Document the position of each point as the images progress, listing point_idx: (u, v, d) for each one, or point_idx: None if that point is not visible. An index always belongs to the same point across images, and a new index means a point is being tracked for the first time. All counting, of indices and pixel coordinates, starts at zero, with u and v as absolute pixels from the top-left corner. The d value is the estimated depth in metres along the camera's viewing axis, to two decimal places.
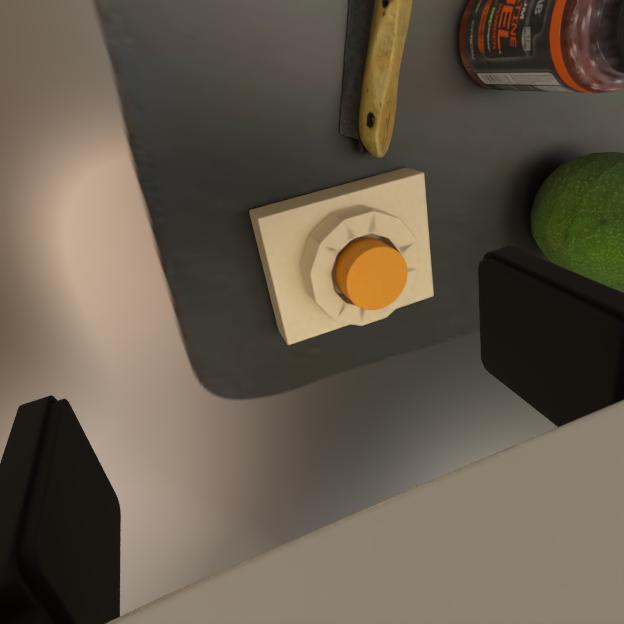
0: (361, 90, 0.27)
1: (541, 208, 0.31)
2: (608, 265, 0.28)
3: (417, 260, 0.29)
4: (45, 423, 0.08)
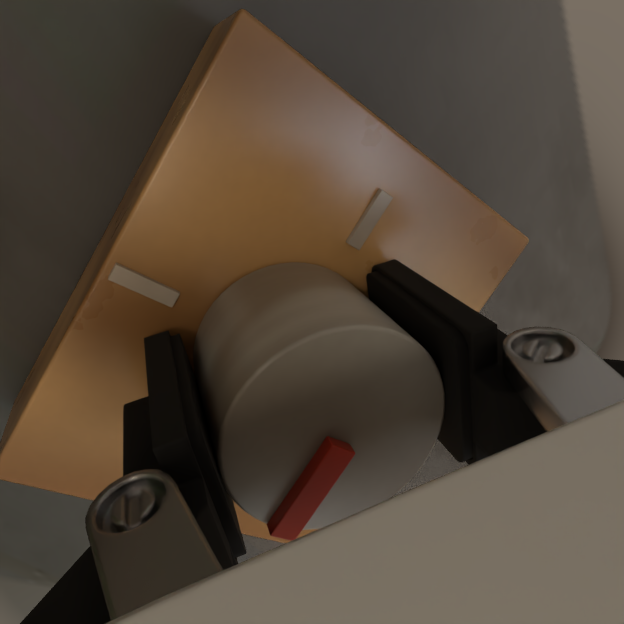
0: None
1: None
2: None
3: None
4: (171, 349, 0.10)
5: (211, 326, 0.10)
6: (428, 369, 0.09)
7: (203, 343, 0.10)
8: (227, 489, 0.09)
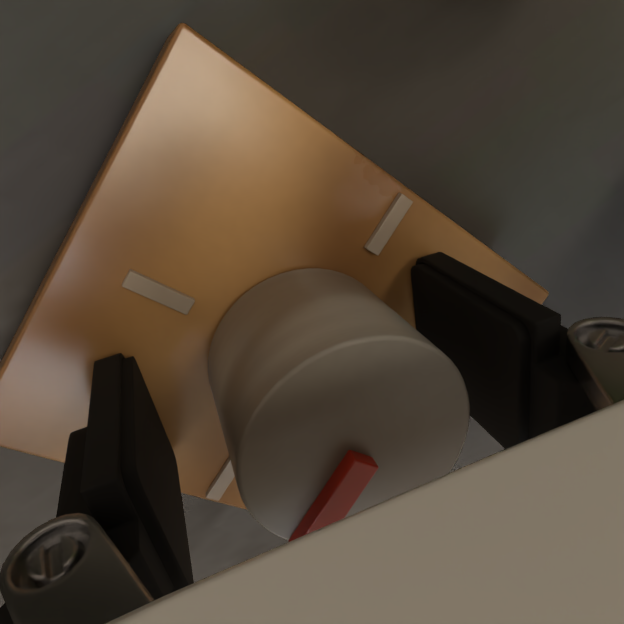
0: None
1: None
2: None
3: None
4: (121, 374, 0.09)
5: (226, 337, 0.10)
6: (452, 378, 0.09)
7: (218, 354, 0.10)
8: (246, 507, 0.09)
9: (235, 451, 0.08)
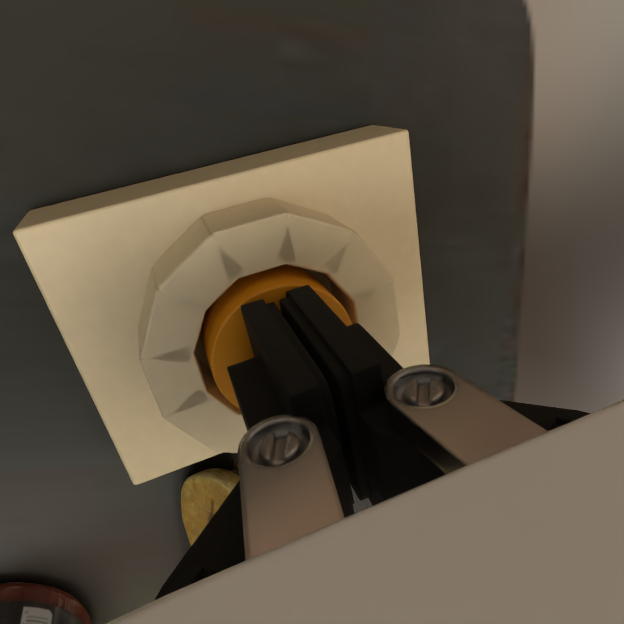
0: None
1: None
2: None
3: (153, 378, 0.12)
4: None
5: None
6: None
7: None
8: None
9: None
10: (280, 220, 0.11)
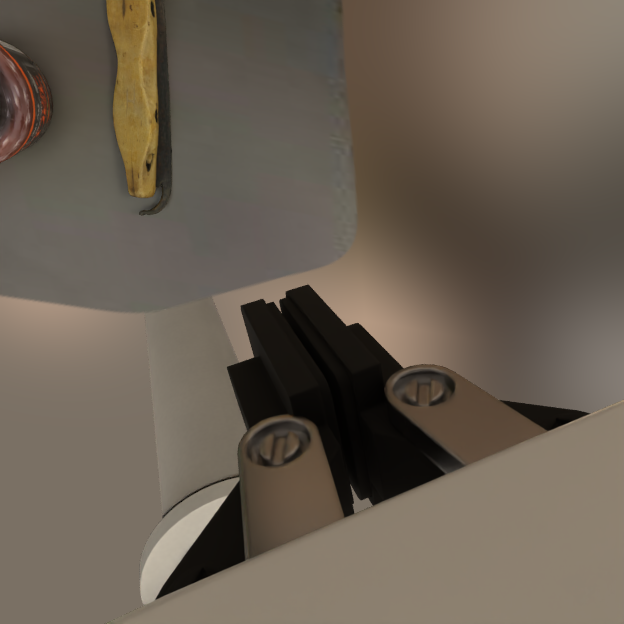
0: None
1: None
2: None
3: None
4: None
5: None
6: None
7: None
8: None
9: None
10: None
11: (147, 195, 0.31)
